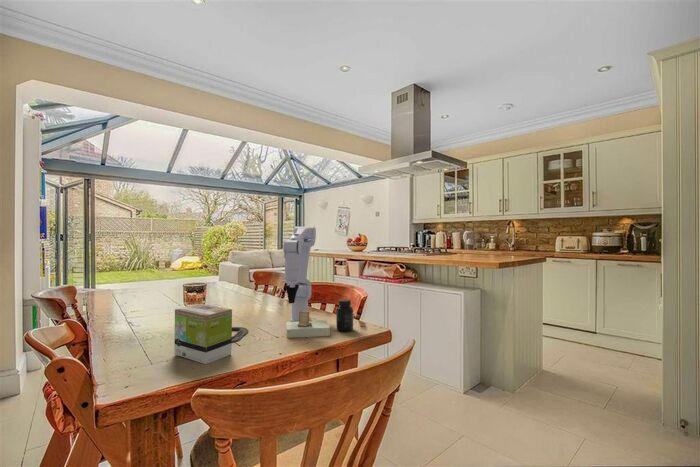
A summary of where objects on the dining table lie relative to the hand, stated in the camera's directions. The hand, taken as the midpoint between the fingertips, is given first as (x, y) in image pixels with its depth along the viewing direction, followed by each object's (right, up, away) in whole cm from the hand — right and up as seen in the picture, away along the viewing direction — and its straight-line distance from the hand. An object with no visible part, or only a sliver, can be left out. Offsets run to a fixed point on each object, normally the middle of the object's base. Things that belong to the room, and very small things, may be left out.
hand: (291, 302), depth 134 cm
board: (+7, -10, -5) cm, 14 cm away
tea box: (-22, -10, -31) cm, 39 cm away
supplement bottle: (+22, -11, -1) cm, 24 cm away
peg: (+6, -10, -6) cm, 13 cm away
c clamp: (-24, -11, -12) cm, 29 cm away
